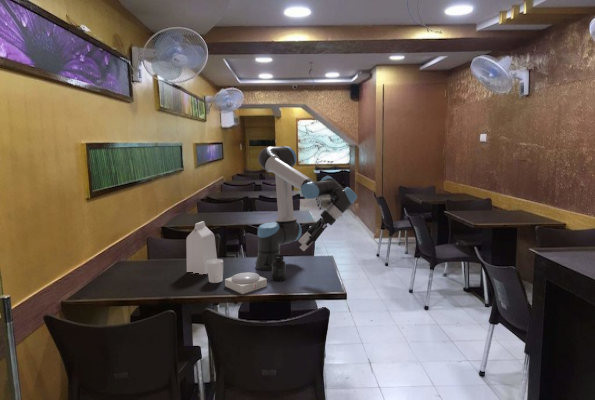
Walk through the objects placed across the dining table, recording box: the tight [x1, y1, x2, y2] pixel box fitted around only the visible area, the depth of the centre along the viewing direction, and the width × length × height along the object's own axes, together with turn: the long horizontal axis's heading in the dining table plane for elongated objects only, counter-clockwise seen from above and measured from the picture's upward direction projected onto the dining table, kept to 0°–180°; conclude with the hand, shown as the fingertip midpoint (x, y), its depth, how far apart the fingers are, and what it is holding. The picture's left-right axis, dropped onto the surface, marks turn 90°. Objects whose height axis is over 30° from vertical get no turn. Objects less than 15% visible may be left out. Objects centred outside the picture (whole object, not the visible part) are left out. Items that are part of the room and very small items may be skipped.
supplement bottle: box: [271, 254, 287, 283], centre depth 200 cm, size 7×7×12 cm
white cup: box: [207, 258, 224, 284], centre depth 200 cm, size 8×8×10 cm
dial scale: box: [224, 271, 268, 295], centre depth 192 cm, size 15×14×5 cm
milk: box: [185, 220, 218, 275], centre depth 216 cm, size 12×12×26 cm
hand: (300, 246), depth 198 cm, fingers open, 13 cm apart
